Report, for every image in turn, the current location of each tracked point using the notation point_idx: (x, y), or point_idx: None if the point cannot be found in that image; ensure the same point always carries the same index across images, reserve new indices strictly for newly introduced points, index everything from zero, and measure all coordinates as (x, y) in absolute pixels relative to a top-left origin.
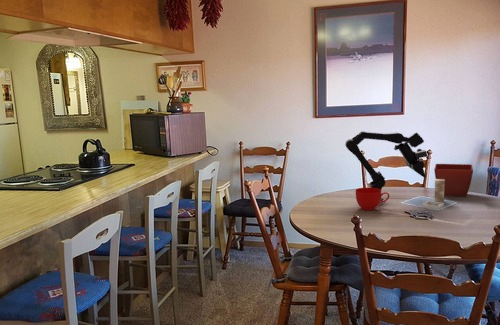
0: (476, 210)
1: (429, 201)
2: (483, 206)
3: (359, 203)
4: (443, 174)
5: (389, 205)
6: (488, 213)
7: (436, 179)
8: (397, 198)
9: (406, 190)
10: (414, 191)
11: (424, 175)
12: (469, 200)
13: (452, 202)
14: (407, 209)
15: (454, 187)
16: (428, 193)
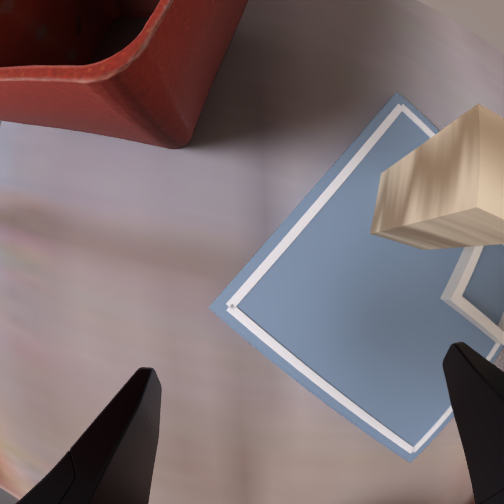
0: (478, 81)
1: (462, 292)
2: (402, 20)
3: None
4: (203, 17)
5: (409, 489)
6: (500, 66)
7: (499, 200)
8: (246, 457)
9: (19, 340)
10: (35, 297)
11: (478, 368)
12: (283, 22)
13: (402, 130)
14: None
15: (227, 29)
16: (82, 213)
